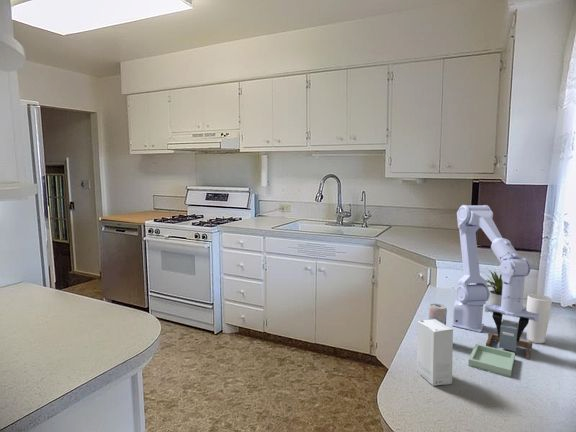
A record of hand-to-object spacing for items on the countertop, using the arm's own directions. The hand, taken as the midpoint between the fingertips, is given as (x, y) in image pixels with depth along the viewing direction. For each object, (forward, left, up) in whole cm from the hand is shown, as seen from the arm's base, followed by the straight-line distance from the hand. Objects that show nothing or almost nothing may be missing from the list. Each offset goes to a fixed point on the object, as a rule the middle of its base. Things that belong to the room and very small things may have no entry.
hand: (508, 337), depth 121 cm
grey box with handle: (0, 0, -2) cm, 2 cm away
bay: (0, 0, -4) cm, 4 cm away
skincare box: (-15, -32, -4) cm, 36 cm away
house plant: (-8, +44, -4) cm, 45 cm away
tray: (-3, -13, -4) cm, 14 cm away
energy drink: (-20, -8, -4) cm, 22 cm away
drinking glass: (+7, +13, -4) cm, 15 cm away
